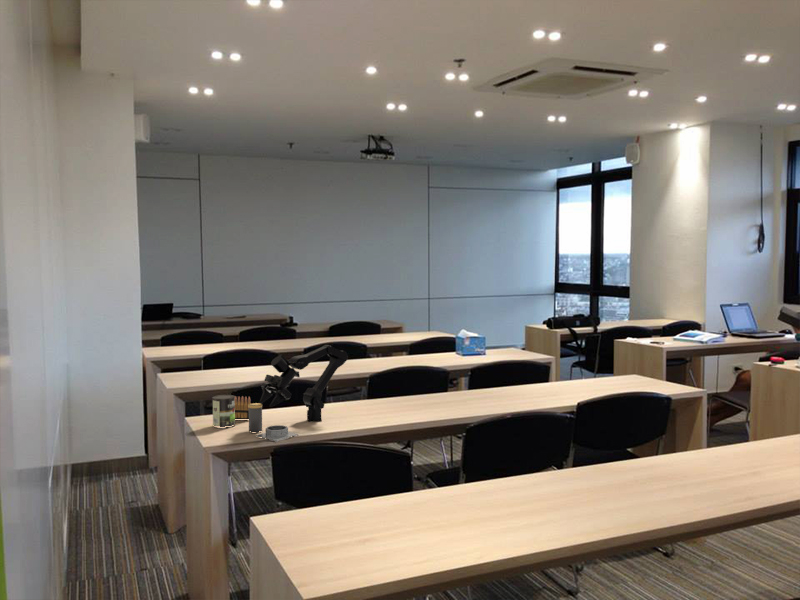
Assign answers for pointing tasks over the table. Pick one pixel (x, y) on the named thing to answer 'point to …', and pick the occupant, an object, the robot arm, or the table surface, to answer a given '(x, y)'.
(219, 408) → the coffee can
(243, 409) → the ammunition clip
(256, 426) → the grey cylindrical piece
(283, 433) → the duct collar
